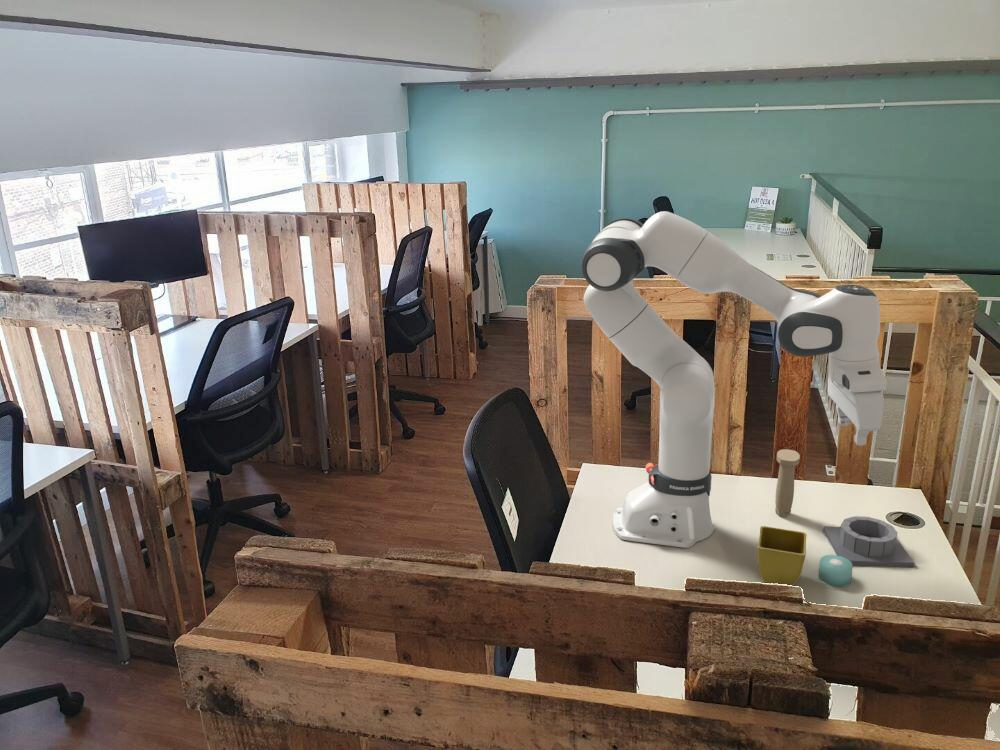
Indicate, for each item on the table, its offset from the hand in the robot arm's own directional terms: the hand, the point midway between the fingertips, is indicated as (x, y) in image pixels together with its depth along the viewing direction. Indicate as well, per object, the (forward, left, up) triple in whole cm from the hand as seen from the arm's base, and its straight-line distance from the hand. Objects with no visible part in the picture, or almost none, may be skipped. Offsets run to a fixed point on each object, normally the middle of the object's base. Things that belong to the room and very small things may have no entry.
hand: (851, 434), depth 153 cm
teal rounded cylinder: (-3, -9, -28) cm, 29 cm away
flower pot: (-14, -10, -28) cm, 33 cm away
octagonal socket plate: (+7, +3, -28) cm, 29 cm away
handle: (-7, +17, -28) cm, 34 cm away
